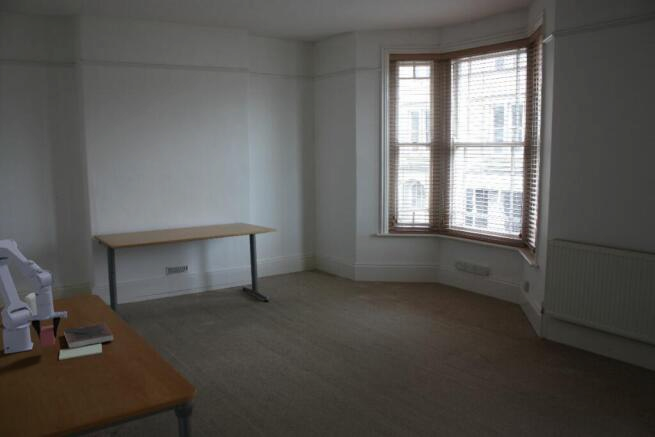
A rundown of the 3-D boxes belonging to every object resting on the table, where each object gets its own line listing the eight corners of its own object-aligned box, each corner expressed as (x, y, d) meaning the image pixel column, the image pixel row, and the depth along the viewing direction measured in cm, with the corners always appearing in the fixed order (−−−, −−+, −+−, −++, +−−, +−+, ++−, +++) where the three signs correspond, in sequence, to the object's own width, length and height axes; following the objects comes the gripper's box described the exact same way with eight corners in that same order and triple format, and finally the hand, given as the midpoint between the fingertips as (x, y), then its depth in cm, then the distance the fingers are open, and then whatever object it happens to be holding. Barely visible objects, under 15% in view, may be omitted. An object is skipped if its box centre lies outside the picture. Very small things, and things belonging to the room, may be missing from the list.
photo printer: (31, 321, 262) (28, 295, 260) (25, 320, 264) (22, 294, 262) (51, 315, 271) (48, 289, 269) (45, 314, 273) (42, 288, 271)
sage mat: (59, 360, 213) (59, 358, 213) (60, 351, 223) (60, 349, 222) (102, 353, 219) (102, 351, 219) (101, 344, 228) (101, 343, 228)
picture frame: (64, 335, 242) (69, 349, 223) (63, 329, 241) (68, 342, 223) (105, 327, 250) (113, 340, 231) (105, 322, 249) (113, 334, 231)
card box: (54, 344, 215) (52, 331, 215) (41, 346, 214) (39, 333, 213) (55, 337, 224) (54, 324, 223) (43, 339, 222) (41, 326, 221)
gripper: (21, 309, 210) (25, 344, 212) (65, 303, 216) (68, 338, 218) (23, 304, 217) (27, 338, 219) (65, 298, 222) (69, 332, 224)
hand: (48, 338), depth 218 cm, fingers closed on card box, 4 cm apart
